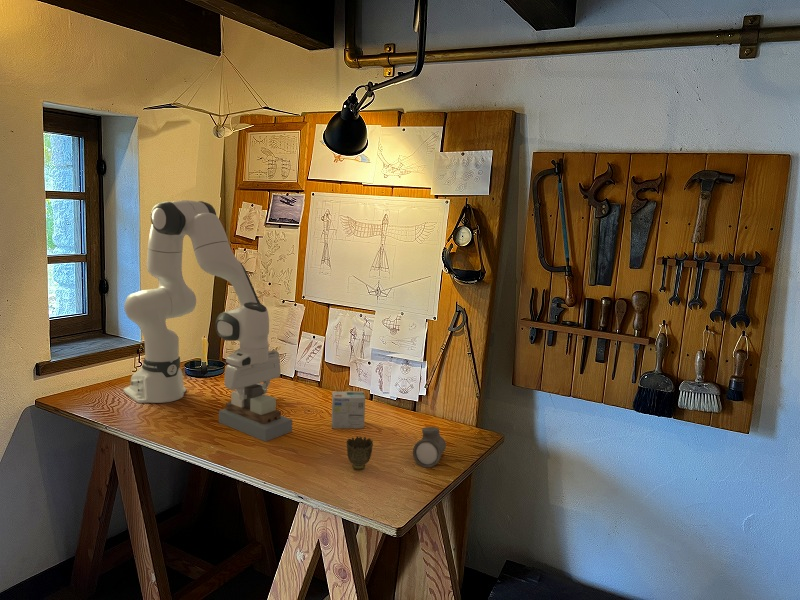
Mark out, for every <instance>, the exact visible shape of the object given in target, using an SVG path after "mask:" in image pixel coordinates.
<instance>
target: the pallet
mask: <svg viewBox="0 0 800 600" xmlns="http://www.w3.org/2000/svg"><path fill="white" fill-rule="evenodd" d="M262 391H263V386H261V385H258V384H254V385H250V386H247V387H244V394H247V399H246V400H244V407H242V408H241V407H238V406H236V405H233V404H231V400H230V401H227V402H226V403H225V409H226V410H228V411H231V412H233V413H236V414H238V415H241V416H243V417H246V418H249V419H251V420H254V421H256V422H259V423H261V424H267V423H268V422H273V421H274V419H275V420H278V419H281V416H282V411H281V410H278V409H276V410H275V411H272V412H269V413H266V414H263V415H259V414H257V413H254V412H252V411H250V399H251V398H255V397H258V396H261V395H263V394H262Z"/></svg>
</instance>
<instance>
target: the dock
mask: <svg viewBox="0 0 800 600" xmlns="http://www.w3.org/2000/svg"><path fill="white" fill-rule="evenodd" d="M218 423H219V424H221V425H224V426H227V427H229V428H231V429H234V430H236V431H239V432H242V433H243V434H246V435H249V436H251V437H253V438H255V439H258V440H260V441H262V442H269V441H271V440H273V439H276V438H278V437H281V436H283V435H286V434H289V433H292V432H293V419H292V418H289V417H286V416H284V415H281V419H278V420H275V419H274V421H273V422H268V423H267V424H261V423H259V422H256V421H254V420H251V419H249V418H246V417H243V416H241V415H238V414H236V413H233V412H231V411H228V410H226V408H222V409H219V410H218Z"/></svg>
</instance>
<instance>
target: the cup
mask: <svg viewBox="0 0 800 600" xmlns="http://www.w3.org/2000/svg"><path fill="white" fill-rule="evenodd" d="M373 445H374V441H373V440H371V438H369V437H368V438H366V436H365V437H362V436H356V438H355V437H352V438H348V439H347V440H346V453H347V458H348V461H349V462H350V464H351V467H352V469H353V470H355V471H363V470H364V469H365V468H366V465H367V463H369V462H370V460H371V457H372V452H373Z"/></svg>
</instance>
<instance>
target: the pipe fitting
mask: <svg viewBox="0 0 800 600" xmlns="http://www.w3.org/2000/svg"><path fill="white" fill-rule="evenodd" d="M421 432H422V433H421V434H422V439H420V440H418V441H417V442H416V443H415V444H414V447H413V449H412V456H413V460H415V463H417V464H418V465H419V466H420V467H422V468H427V469H428V468H433V467H435V466H436V465H437V464H438V463H439V462H440V460H441V458H442V454H443V453H444V452H445V450H446V447H447V443H446V439H444V437H442V436H441V434H440V428H439V427H435V426H425V427H422V428H421Z"/></svg>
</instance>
